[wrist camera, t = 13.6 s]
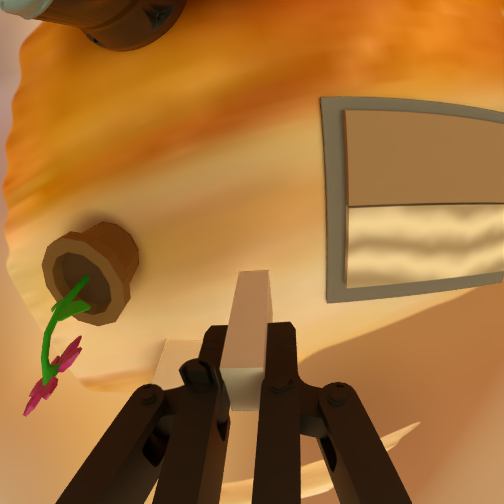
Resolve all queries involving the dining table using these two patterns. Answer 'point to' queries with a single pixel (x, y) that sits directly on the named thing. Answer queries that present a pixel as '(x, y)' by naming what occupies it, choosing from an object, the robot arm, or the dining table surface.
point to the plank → (422, 242)
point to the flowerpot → (84, 290)
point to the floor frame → (405, 172)
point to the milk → (174, 361)
